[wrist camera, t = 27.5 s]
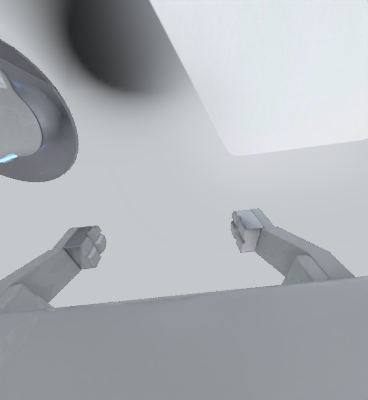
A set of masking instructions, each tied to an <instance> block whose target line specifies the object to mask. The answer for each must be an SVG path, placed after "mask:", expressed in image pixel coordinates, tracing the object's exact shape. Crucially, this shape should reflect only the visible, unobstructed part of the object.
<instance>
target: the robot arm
mask: <svg viewBox="0 0 368 400" xmlns="http://www.w3.org/2000/svg"><path fill="white" fill-rule="evenodd" d="M41 142H42V133H41V129H40V125H39V123H38V121H37V119H36V117H35V115H34V114H33V112H32V111H31V109H30V108H29V107H28V105H27V104H26V103H25V102H24V101H23V100H22V99H21V98H20V97H19V96H18V94H17V93H16V92H15V91H14V89H13V87H12V86H11V84H10V82H9V80H8V79H7V77H6V76H5V74H4V73H3V72H2V71H1V70H0V162H2V163H7V162H10V161H12V160H14V159H15V158H16V157H23V156H29V155H32V154H34V153H35V152H36V151H37V150H38V149H39V148H40V146H41ZM232 218H233V221H232V222H231V231H232V234H233V237H234V238H236V239H237V246H238V248H239V250H240V252H241V253H242V252H253V251H254V252H255V251H256V253H257V254H258V255H259V256H261V257H262V258H263V259H264V260H266V261H267V262H268V263H269V264H271V265H272V266H273V267H274V268H276V269H277V270H278V271H279V272H280V273H281V274H283V275H284V276H285V279H284V281H283V283H282V285H276V286H265V287H256V288H246V289H236V290H226V291H216V292H207V293H197V294H187V295H177V296H168V297H158V298H148V299H138V300H129V301H119V302H109V303H99V304H90V305H80V306H70V307H61V308H54V307H52V306H51V305H50V304H48V303H49V302H50V301H51V299H53V298H54V297H55V296H56V295H57V294H58V293H59V292H60V291H61V290H62V289H63V288H64V287H65V286H66V285H67V284H68V283H69V282H70V281H71V280H72V279H73V278H74V277H75V276H76V275H77V274H78V273H79V272H80V271H81V269H88V268H95V267H97V264H98V262H99V260H100V258H101V256H100V254H101V253H102V252H103V251H104V250H105V247H106V238H105V236H104V235H102V234H101V233H100V232H101V230H100V228H99V226H88V227H77V228H71V229H69V230H68V231H67V232H66V234H65V235H64V236H63V237H62V238H61V239H60V241H59V242H58V243H57V244H56V245H55V246H54V248H53V249H52V250H48V251H47V252H46V253H44V254H42V255H41V256H39V257H37V258H36V259H34V260H32V261H31V262H29V263H28V264H26V265H24V266H23V267H21V268H20V269H18V270H16V271H15V272H13V273H12V274H10V275H8V276H7V277H6V278H4V279H2V280H1V281H0V400H368V276H363V277H355V276H354V275H353V274H351V272H349V271H348V270H347V269H346V268H345V267H344V266H343V265H342V264H341V263H340V262H339V261H338V260H337V259H336V258H335V257H334V256H333V255H332V254H331V253H330V252H328V251H326V250H324V249H322V248H320V247H318V246H316V245H314V244H312V243H310V242H308V241H306V240H304V239H302V238H299V237H298V236H295V235H293V234H292V233H289V232H287V231H285V230H283V229H281V228H279V227H274V225H273V224H272V223H271V222H270V221H269V219H268V218H267V217H266V216H265V215H264V213H263V212H262V211H261V210H260V209H259V208H257V209H250V210H242V211H234V212H233V213H232Z"/></svg>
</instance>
